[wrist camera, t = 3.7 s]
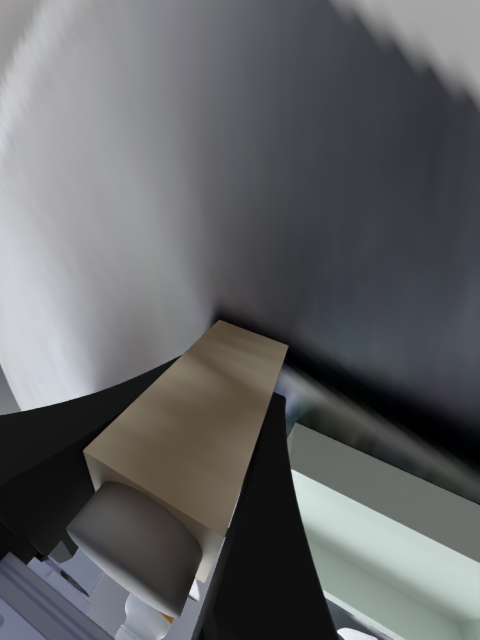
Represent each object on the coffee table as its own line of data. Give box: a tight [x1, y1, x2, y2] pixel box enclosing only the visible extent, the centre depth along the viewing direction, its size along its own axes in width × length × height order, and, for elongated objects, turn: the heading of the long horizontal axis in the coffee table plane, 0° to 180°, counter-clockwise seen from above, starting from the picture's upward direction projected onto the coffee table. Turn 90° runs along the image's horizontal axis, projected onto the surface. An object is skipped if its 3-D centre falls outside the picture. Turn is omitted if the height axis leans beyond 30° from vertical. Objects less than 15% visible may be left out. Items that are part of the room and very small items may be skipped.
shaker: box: [66, 320, 288, 618], centre depth 9 cm, size 4×4×9 cm
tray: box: [287, 423, 480, 640], centre depth 14 cm, size 16×12×3 cm
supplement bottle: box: [114, 592, 173, 640], centre depth 25 cm, size 5×5×10 cm
